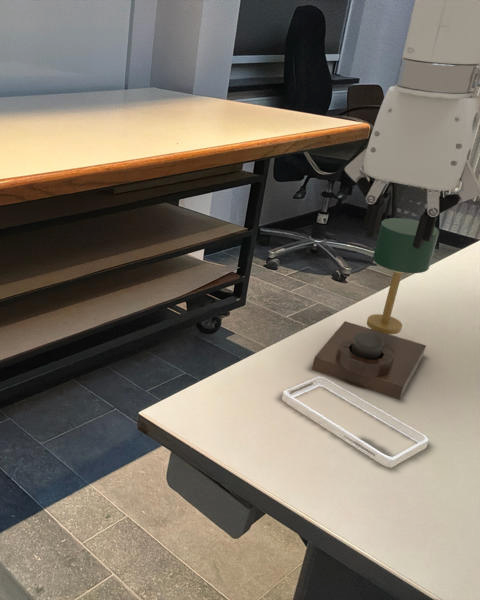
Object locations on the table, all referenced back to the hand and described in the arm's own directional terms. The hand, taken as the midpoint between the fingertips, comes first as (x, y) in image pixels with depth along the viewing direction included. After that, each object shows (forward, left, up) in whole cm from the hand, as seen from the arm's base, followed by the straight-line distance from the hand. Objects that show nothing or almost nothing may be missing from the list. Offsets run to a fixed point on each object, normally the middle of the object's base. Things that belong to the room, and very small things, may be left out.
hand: (395, 238), depth 79 cm
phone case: (-2, +11, -20) cm, 23 cm away
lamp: (0, -9, -15) cm, 18 cm away
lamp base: (0, -4, -19) cm, 20 cm away
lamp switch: (0, 0, -16) cm, 16 cm away
